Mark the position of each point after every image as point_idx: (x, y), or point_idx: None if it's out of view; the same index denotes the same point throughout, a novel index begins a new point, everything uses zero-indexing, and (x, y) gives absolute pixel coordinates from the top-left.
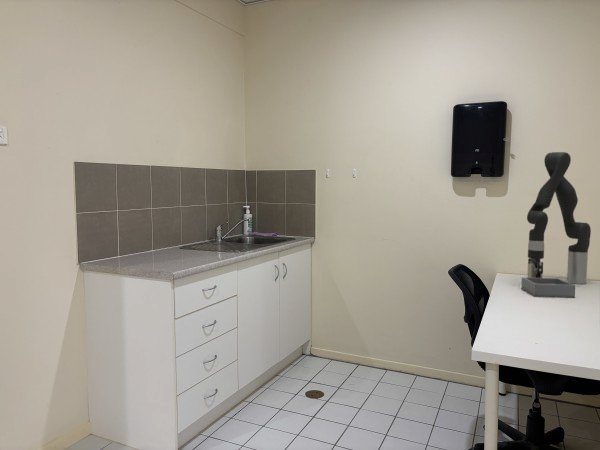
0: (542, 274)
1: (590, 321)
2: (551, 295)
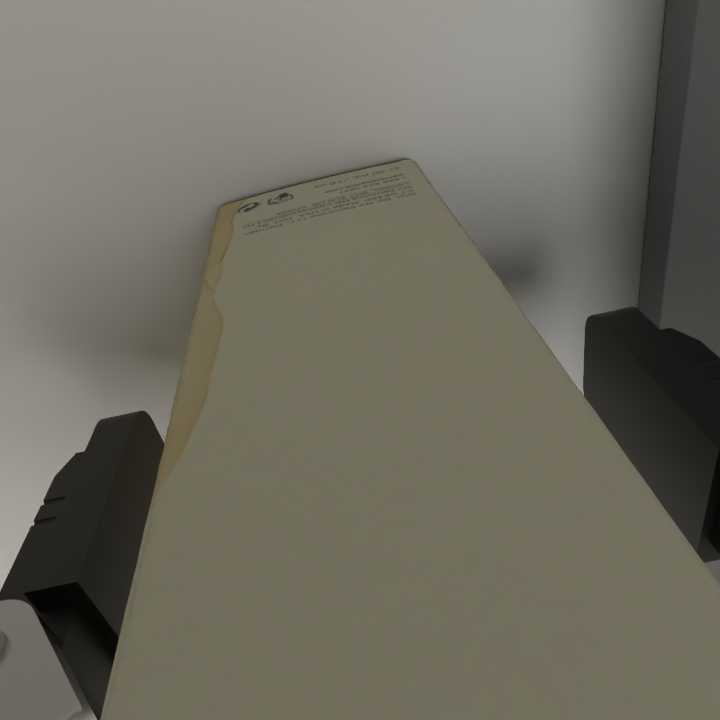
0: (533, 328)
1: None
2: None
